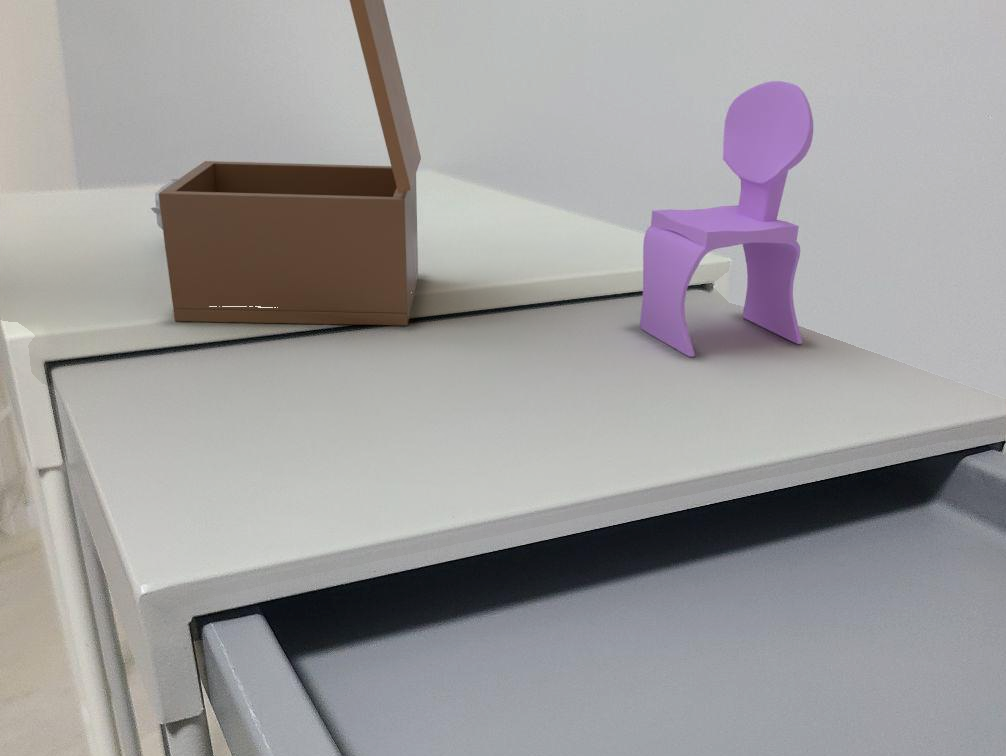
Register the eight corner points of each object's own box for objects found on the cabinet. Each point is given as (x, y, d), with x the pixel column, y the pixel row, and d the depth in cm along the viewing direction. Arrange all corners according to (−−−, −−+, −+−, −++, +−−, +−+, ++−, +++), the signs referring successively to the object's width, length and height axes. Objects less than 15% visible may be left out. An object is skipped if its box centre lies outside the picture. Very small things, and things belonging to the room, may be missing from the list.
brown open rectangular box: (174, 321, 67) (157, 193, 64) (216, 273, 78) (204, 160, 74) (407, 325, 68) (404, 199, 64) (418, 277, 79) (415, 166, 75)
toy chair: (625, 324, 70) (643, 75, 63) (738, 312, 73) (767, 75, 66) (691, 363, 63) (720, 90, 56) (812, 348, 67) (853, 89, 60)
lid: (324, -100, 57) (426, -124, 57) (349, -89, 68) (435, -109, 67) (398, 193, 64) (489, 173, 64) (410, 161, 75) (488, 144, 75)
